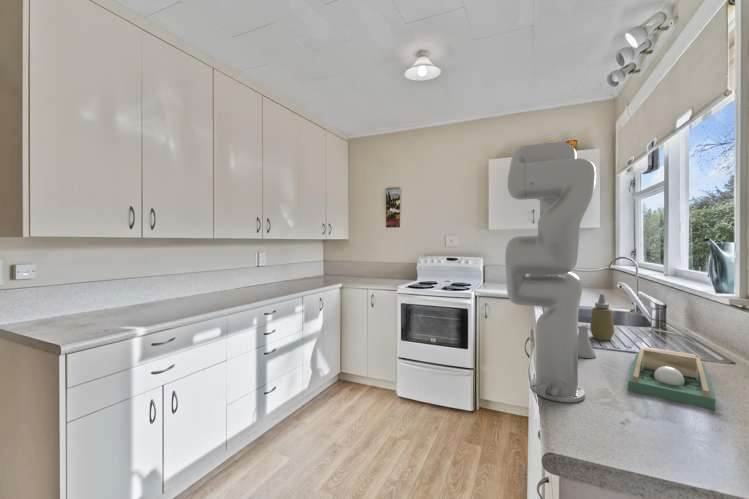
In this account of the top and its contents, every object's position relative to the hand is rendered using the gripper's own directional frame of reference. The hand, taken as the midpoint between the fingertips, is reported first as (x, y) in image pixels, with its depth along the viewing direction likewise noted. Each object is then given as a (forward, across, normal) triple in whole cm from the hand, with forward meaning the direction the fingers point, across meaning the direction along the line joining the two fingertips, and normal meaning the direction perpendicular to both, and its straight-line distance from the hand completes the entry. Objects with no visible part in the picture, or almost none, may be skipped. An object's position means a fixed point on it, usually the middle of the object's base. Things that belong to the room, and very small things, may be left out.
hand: (552, 271), depth 114 cm
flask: (+29, +7, -8) cm, 31 cm away
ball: (+26, -10, -30) cm, 41 cm away
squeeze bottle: (+29, +34, -10) cm, 46 cm away
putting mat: (+29, -2, -30) cm, 42 cm away
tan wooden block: (+26, -3, -30) cm, 40 cm away
